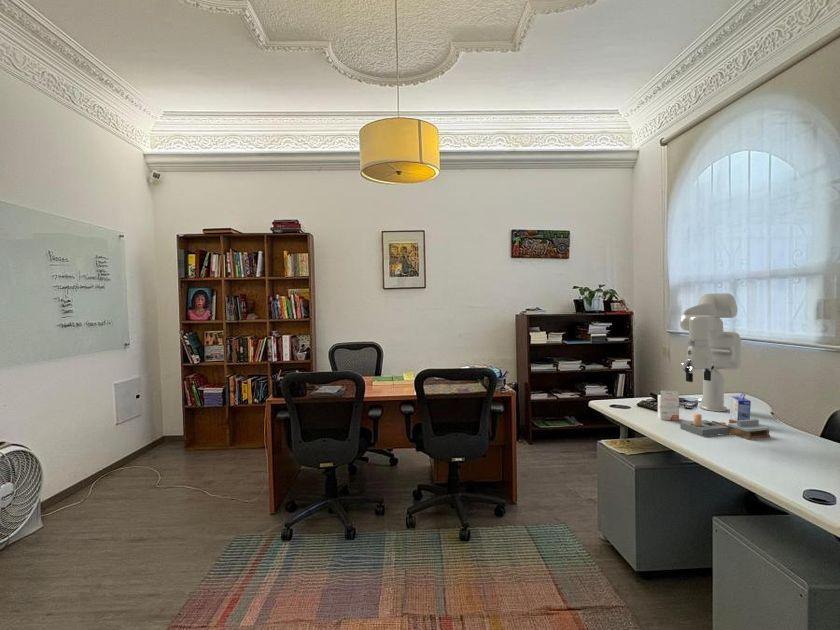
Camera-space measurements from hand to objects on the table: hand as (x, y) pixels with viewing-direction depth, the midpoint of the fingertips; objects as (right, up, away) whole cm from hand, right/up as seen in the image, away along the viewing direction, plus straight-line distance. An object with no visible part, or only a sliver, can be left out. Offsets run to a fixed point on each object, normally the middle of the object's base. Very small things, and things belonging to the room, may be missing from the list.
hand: (698, 381), depth 195 cm
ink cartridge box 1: (-1, -23, +22) cm, 31 cm away
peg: (0, -23, 0) cm, 23 cm away
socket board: (+3, -23, +1) cm, 23 cm away
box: (+18, -23, -1) cm, 29 cm away
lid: (+19, -20, -5) cm, 28 cm away
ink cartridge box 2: (+28, -23, +13) cm, 38 cm away
